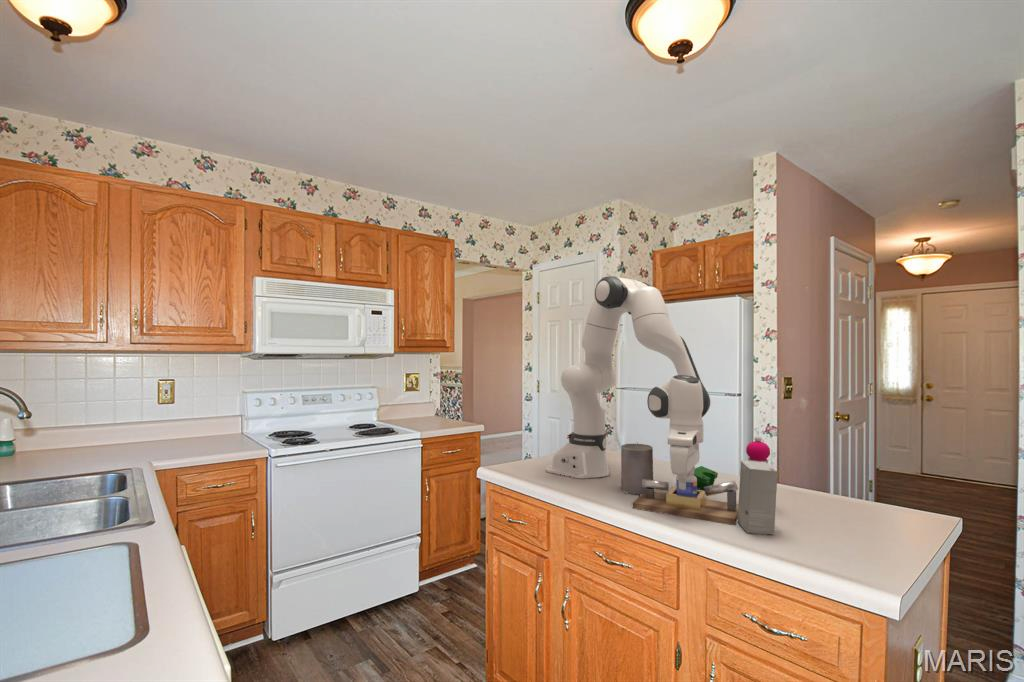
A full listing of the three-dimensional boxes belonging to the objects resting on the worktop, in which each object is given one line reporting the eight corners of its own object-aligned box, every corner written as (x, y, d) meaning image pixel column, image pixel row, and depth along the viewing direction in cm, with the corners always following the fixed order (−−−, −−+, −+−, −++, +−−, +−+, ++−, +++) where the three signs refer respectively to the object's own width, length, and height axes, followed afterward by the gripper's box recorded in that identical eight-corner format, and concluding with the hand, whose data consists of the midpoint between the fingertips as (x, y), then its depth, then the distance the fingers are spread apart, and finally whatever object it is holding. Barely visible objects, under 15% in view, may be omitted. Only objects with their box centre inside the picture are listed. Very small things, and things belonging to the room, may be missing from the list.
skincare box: (736, 522, 127) (736, 459, 127) (767, 523, 126) (766, 460, 126) (746, 534, 118) (746, 467, 119) (779, 536, 117) (778, 468, 118)
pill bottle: (697, 507, 134) (697, 470, 134) (675, 505, 136) (676, 469, 136) (697, 501, 139) (697, 466, 139) (676, 499, 141) (676, 464, 141)
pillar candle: (636, 484, 162) (635, 438, 162) (660, 491, 154) (659, 442, 154) (614, 489, 157) (614, 441, 157) (638, 497, 148) (637, 446, 149)
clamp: (701, 505, 154) (703, 482, 151) (683, 497, 158) (684, 474, 154) (718, 484, 162) (720, 462, 158) (700, 477, 166) (702, 455, 162)
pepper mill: (746, 502, 143) (746, 432, 143) (775, 507, 139) (774, 435, 139) (741, 509, 137) (741, 436, 138) (771, 514, 133) (770, 439, 133)
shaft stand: (632, 508, 138) (632, 474, 138) (646, 495, 150) (646, 464, 150) (734, 525, 125) (734, 487, 125) (741, 509, 137) (740, 475, 137)
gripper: (682, 428, 148) (682, 475, 148) (665, 438, 130) (665, 492, 130) (704, 430, 145) (704, 478, 145) (691, 441, 127) (691, 495, 127)
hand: (686, 484), depth 137 cm, fingers open, 8 cm apart
